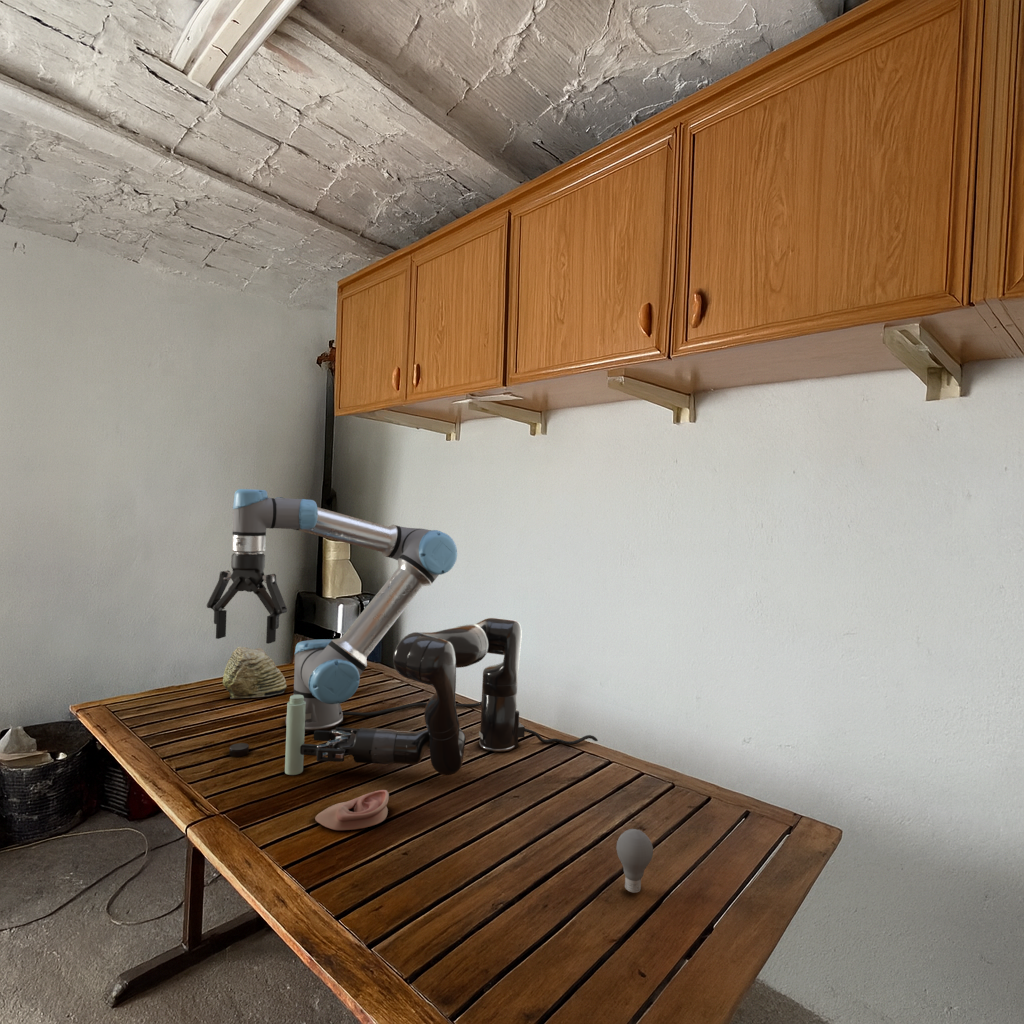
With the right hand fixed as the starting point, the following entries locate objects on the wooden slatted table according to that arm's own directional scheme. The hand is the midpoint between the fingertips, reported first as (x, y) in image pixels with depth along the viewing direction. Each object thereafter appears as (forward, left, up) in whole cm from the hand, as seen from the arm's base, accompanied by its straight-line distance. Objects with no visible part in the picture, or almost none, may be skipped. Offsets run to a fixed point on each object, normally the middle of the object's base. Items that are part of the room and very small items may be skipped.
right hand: (307, 742), depth 146 cm
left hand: (+14, -15, +21) cm, 29 cm away
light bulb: (-46, +64, -7) cm, 79 cm away
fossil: (+9, -61, -7) cm, 62 cm away
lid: (+14, -15, -5) cm, 22 cm away
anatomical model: (-6, +25, -7) cm, 26 cm away
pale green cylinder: (+3, -1, -7) cm, 7 cm away
